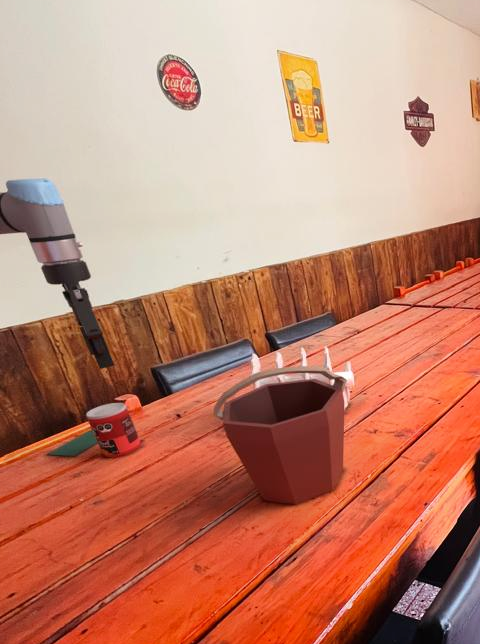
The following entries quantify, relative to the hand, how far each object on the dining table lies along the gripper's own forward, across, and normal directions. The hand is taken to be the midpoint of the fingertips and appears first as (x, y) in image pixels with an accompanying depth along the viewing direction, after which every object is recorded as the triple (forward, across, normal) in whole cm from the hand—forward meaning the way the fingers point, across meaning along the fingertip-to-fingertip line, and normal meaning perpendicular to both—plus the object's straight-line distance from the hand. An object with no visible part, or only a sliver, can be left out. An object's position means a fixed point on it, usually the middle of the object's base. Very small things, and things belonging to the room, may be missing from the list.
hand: (102, 360), depth 114 cm
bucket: (+24, -43, -23) cm, 54 cm away
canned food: (+24, +4, +3) cm, 24 cm away
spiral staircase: (+24, -11, -39) cm, 47 cm away
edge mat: (+24, +17, +9) cm, 30 cm away
